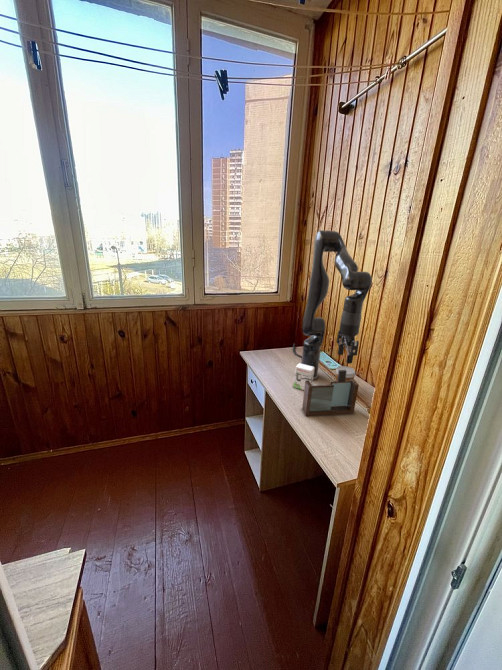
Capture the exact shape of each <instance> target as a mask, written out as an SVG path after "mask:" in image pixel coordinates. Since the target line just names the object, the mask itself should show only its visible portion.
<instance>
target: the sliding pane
mask: <svg viewBox="0 0 502 670" xmlns="http://www.w3.org/2000/svg"><path fill="white" fill-rule="evenodd" d="M346 372H347V371H346V370H339V371H338V378H337V381H336V380H330V381H329V385H334V389H333V395H332V402H331V407H332V406H347V404H348V398H349V392H350V387H351V380H347V381H345V378H346Z"/></svg>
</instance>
